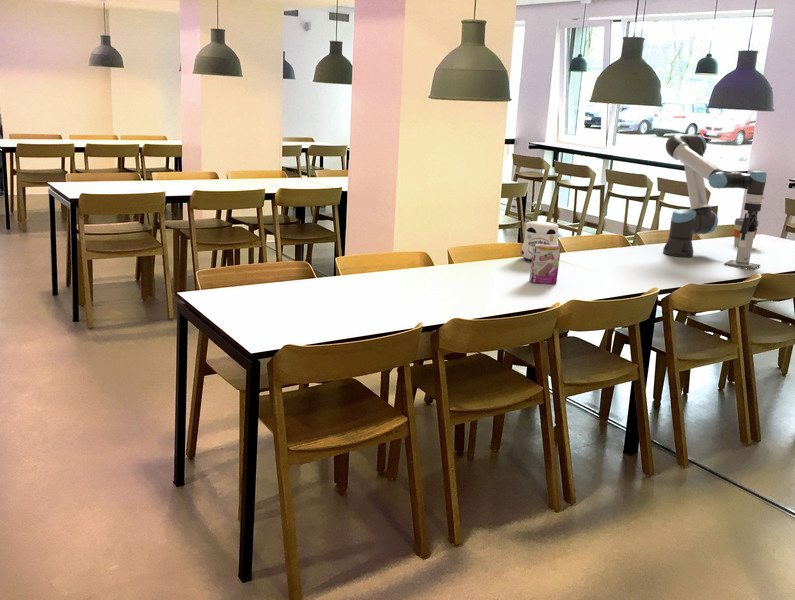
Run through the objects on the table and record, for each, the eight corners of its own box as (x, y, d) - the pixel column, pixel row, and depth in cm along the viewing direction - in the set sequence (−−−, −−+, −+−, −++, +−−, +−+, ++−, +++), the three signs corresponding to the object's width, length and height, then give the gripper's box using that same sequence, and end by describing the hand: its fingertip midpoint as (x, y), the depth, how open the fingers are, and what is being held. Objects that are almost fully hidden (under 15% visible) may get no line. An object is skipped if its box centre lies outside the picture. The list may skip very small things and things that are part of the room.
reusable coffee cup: (725, 243, 444) (730, 218, 440) (743, 243, 448) (748, 218, 444) (741, 248, 433) (745, 222, 429) (759, 248, 437) (764, 222, 432)
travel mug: (747, 265, 382) (754, 225, 376) (734, 263, 385) (740, 223, 380) (750, 263, 386) (757, 224, 381) (737, 261, 390) (744, 222, 385)
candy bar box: (531, 283, 328) (535, 246, 323) (528, 280, 332) (532, 243, 328) (557, 284, 328) (561, 247, 324) (554, 281, 333) (558, 244, 328)
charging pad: (724, 265, 386) (724, 262, 386) (731, 261, 395) (731, 259, 395) (753, 270, 378) (753, 267, 377) (760, 266, 387) (760, 264, 386)
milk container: (532, 265, 362) (536, 227, 357) (514, 257, 378) (517, 221, 373) (563, 263, 369) (567, 227, 364) (544, 256, 384) (548, 220, 379)
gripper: (754, 205, 366) (746, 249, 372) (768, 201, 385) (760, 243, 391) (738, 203, 370) (730, 246, 376) (752, 199, 389) (745, 240, 395)
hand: (745, 245), depth 383 cm, fingers open, 13 cm apart
